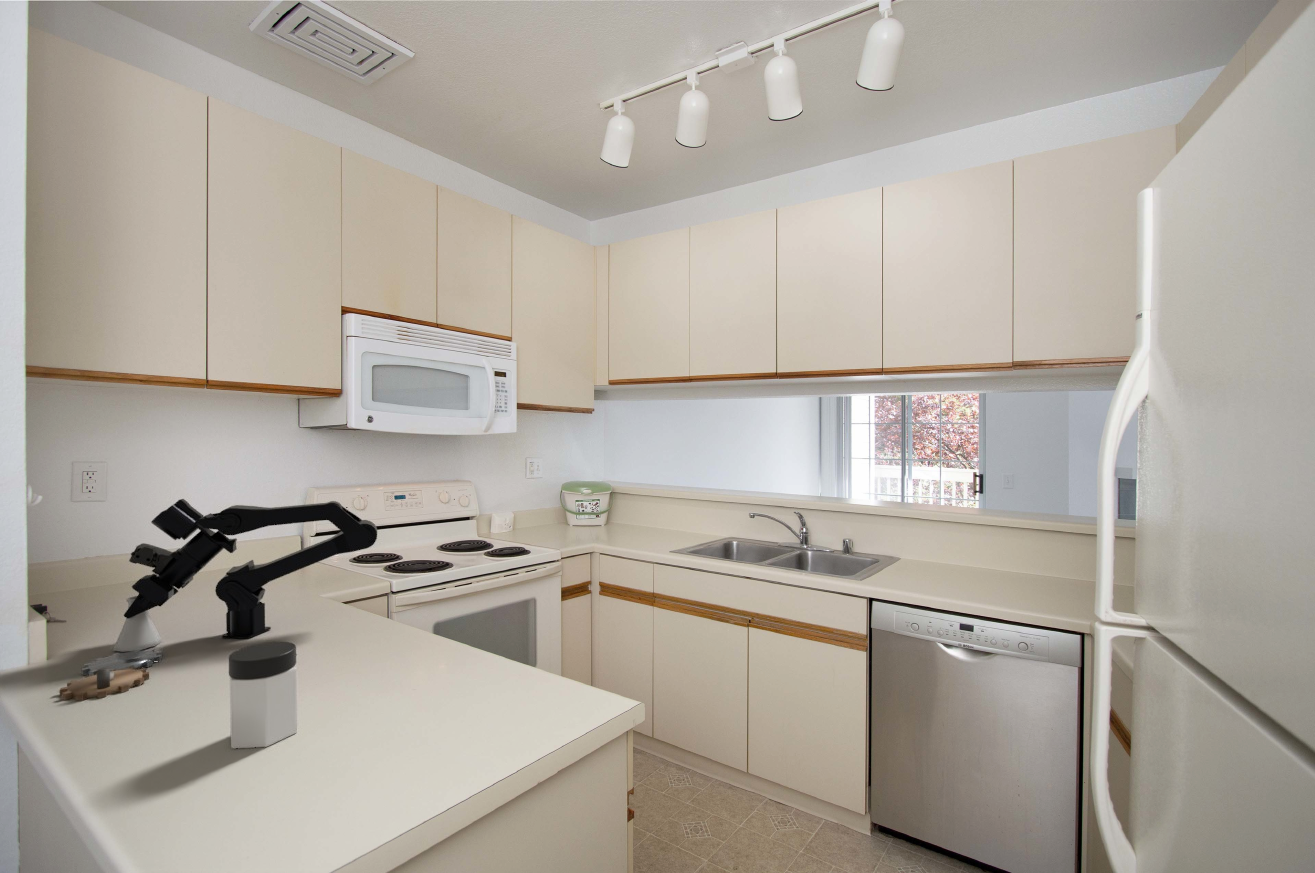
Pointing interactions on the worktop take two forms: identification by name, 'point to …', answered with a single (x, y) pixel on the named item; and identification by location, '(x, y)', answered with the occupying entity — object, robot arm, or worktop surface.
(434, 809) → the worktop surface
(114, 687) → the drive gear
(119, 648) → the flask
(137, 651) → the gear
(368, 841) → the worktop surface
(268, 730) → the jar
